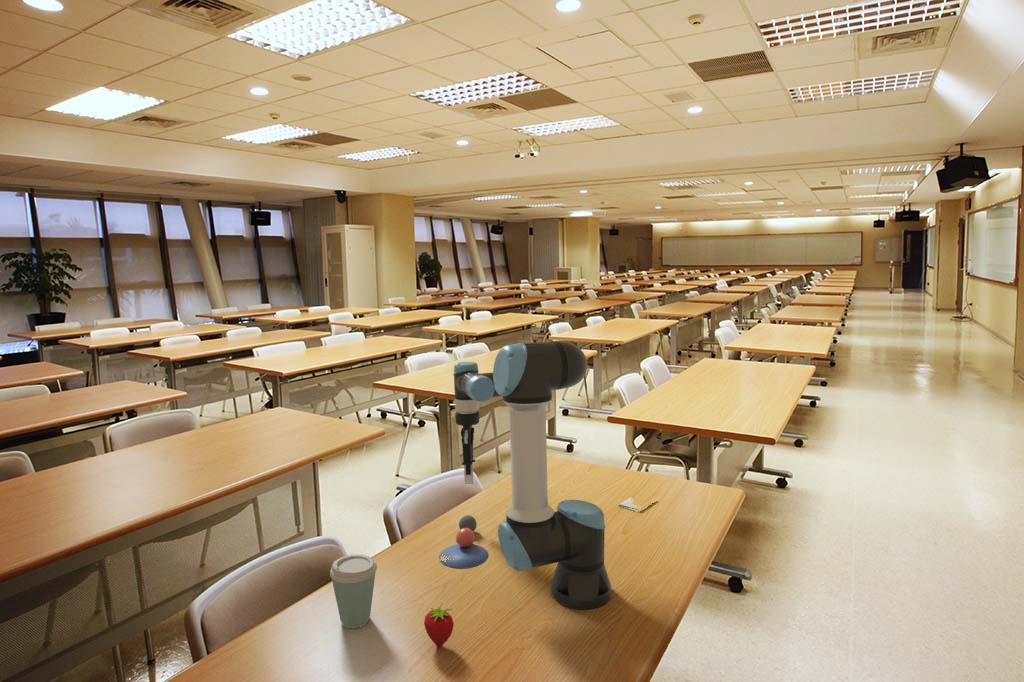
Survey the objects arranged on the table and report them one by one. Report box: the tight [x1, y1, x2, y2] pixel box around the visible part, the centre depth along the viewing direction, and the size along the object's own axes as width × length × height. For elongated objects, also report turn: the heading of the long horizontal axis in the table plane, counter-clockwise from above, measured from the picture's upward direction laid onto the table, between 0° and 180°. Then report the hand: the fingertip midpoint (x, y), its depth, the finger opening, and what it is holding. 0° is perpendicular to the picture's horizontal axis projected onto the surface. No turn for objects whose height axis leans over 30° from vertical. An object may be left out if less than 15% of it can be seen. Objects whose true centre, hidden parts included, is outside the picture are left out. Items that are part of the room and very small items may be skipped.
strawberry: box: [423, 602, 455, 648], centre depth 127 cm, size 6×8×10 cm
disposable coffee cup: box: [329, 554, 378, 629], centre depth 136 cm, size 11×11×15 cm
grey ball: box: [458, 515, 477, 532], centre depth 181 cm, size 6×6×6 cm
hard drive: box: [618, 497, 641, 510], centre depth 201 cm, size 2×8×12 cm
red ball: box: [455, 528, 476, 547], centre depth 172 cm, size 6×6×6 cm
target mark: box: [438, 543, 489, 569], centre depth 167 cm, size 14×14×1 cm
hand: (469, 483), depth 185 cm, fingers closed
